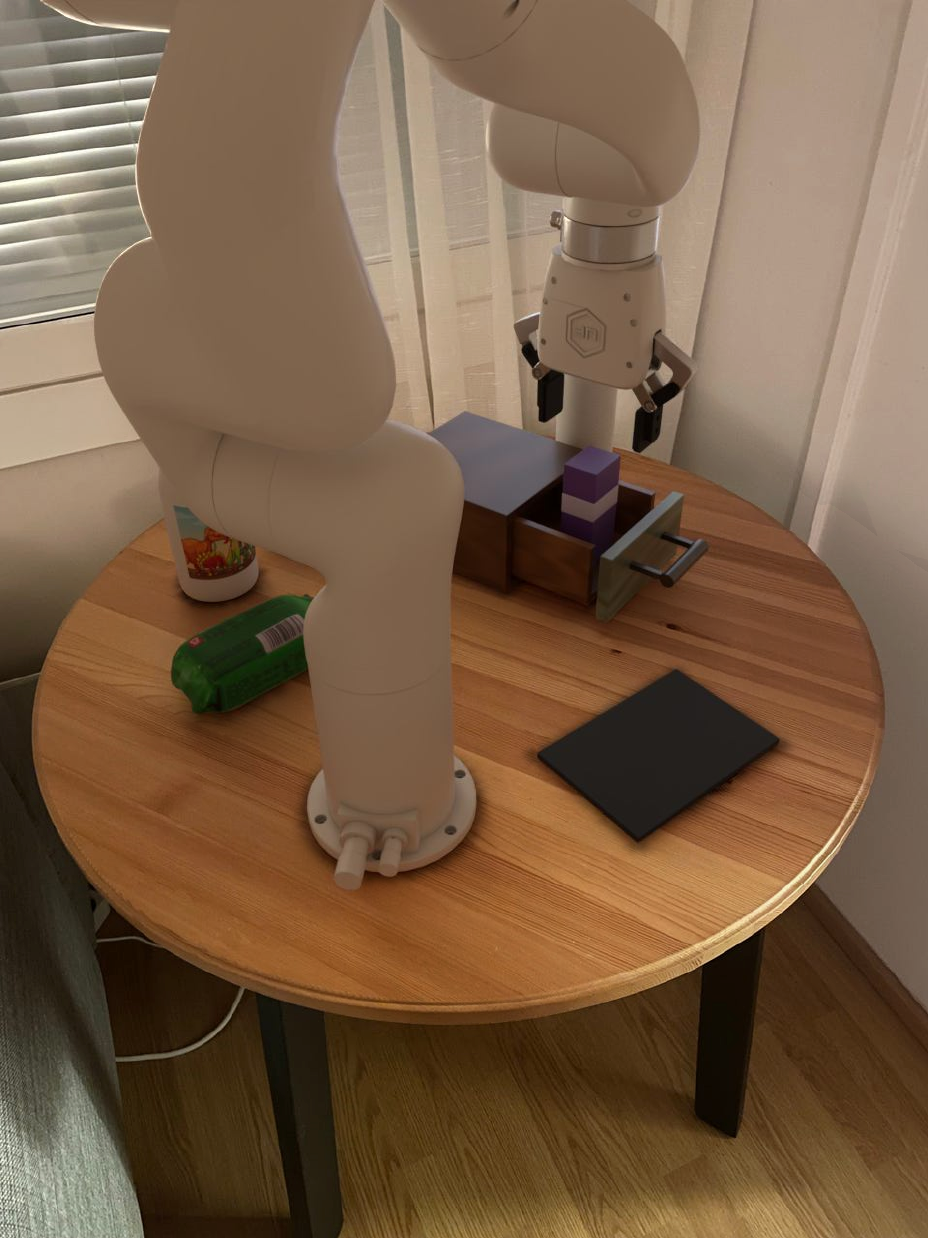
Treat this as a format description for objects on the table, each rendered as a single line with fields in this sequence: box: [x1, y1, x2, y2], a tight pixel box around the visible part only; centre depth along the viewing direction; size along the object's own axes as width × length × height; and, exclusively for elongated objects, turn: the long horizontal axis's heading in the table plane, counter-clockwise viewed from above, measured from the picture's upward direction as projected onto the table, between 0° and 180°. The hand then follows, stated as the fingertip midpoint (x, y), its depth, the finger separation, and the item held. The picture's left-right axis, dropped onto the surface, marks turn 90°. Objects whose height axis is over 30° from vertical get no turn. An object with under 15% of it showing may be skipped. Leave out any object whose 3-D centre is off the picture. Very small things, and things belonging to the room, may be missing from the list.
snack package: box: [170, 593, 314, 716], centre depth 86 cm, size 7×16×5 cm, turn 131°
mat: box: [536, 668, 780, 844], centre depth 79 cm, size 16×11×1 cm
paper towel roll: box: [555, 373, 619, 453], centre depth 104 cm, size 7×6×21 cm
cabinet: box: [427, 410, 584, 594], centre depth 102 cm, size 16×15×9 cm
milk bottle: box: [156, 465, 260, 603], centre depth 93 cm, size 8×8×20 cm
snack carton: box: [561, 446, 622, 566], centre depth 94 cm, size 4×4×10 cm
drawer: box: [511, 479, 709, 624], centre depth 96 cm, size 19×14×7 cm
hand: (596, 430), depth 90 cm, fingers open, 9 cm apart
